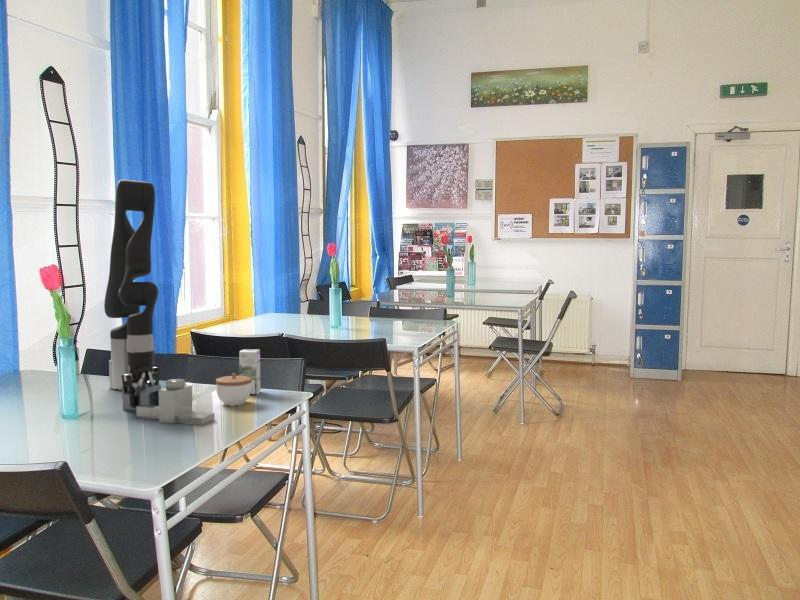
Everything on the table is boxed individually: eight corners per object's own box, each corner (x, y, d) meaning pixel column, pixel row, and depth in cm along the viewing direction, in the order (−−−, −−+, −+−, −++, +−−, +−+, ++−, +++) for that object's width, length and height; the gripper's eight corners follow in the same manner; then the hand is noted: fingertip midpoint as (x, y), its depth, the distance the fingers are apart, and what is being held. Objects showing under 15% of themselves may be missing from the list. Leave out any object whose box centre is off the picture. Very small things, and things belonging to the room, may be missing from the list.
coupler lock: (120, 409, 200) (119, 386, 200) (134, 405, 206) (134, 382, 205) (147, 412, 197) (147, 388, 196) (161, 407, 203) (160, 384, 202)
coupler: (129, 419, 189) (128, 380, 188) (149, 412, 197) (148, 375, 196) (199, 426, 182) (198, 386, 181) (216, 419, 189) (215, 380, 188)
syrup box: (261, 391, 225) (260, 348, 224) (256, 395, 219) (256, 351, 218) (244, 391, 225) (243, 348, 224) (239, 395, 219) (238, 351, 218)
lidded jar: (211, 407, 203) (211, 376, 202) (222, 399, 214) (221, 370, 213) (247, 407, 203) (246, 377, 202) (255, 399, 213) (255, 370, 213)
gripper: (146, 345, 208) (148, 399, 209) (112, 352, 194) (114, 409, 196) (167, 346, 205) (168, 400, 207) (133, 353, 192) (135, 411, 193)
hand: (142, 404), depth 201 cm, fingers closed on coupler lock, 6 cm apart
